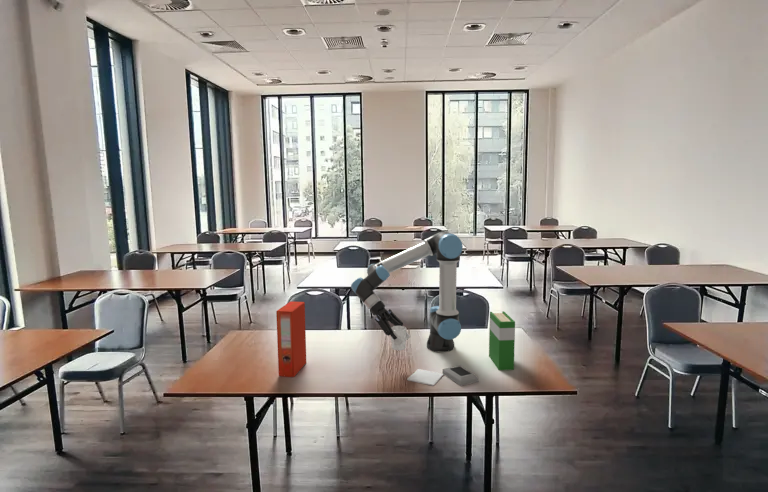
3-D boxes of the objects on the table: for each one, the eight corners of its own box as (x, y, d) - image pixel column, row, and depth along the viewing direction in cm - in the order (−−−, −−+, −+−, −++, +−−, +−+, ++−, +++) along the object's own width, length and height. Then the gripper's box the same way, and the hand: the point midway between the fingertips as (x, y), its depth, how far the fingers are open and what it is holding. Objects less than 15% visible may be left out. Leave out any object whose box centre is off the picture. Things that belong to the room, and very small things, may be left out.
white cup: (408, 345, 226) (407, 326, 224) (404, 351, 218) (404, 331, 217) (392, 344, 228) (392, 325, 226) (388, 350, 220) (388, 330, 219)
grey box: (459, 363, 222) (478, 374, 208) (459, 370, 222) (478, 382, 209) (442, 366, 217) (460, 378, 204) (442, 374, 218) (460, 386, 205)
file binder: (307, 362, 233) (304, 301, 228) (294, 377, 216) (292, 311, 211) (291, 362, 234) (289, 301, 230) (278, 376, 217) (275, 310, 213)
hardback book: (488, 356, 238) (489, 311, 235) (502, 355, 239) (504, 311, 235) (498, 370, 221) (499, 322, 217) (513, 369, 221) (515, 321, 218)
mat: (418, 369, 222) (418, 368, 222) (443, 374, 216) (443, 373, 216) (407, 380, 211) (407, 379, 211) (433, 385, 205) (433, 384, 205)
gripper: (380, 304, 237) (408, 338, 231) (359, 315, 219) (390, 352, 213) (389, 295, 233) (418, 329, 228) (368, 305, 215) (400, 343, 210)
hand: (404, 340), depth 221 cm, fingers closed on white cup, 8 cm apart
